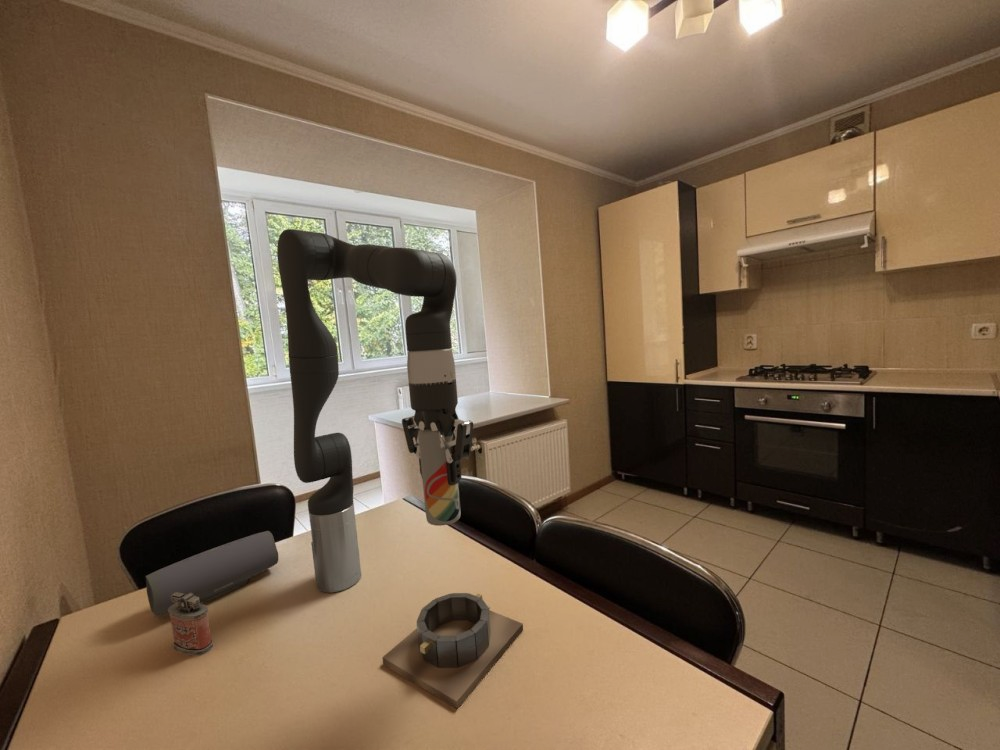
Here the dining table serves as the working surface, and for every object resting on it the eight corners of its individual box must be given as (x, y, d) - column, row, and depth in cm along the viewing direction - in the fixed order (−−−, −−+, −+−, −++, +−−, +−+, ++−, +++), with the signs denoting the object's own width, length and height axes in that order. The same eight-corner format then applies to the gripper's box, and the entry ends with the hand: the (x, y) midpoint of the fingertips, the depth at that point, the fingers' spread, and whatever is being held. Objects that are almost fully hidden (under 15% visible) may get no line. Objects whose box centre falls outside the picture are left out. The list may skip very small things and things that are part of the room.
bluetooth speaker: (266, 562, 103) (261, 524, 102) (281, 574, 97) (276, 534, 96) (149, 612, 86) (142, 566, 85) (158, 630, 80) (150, 582, 79)
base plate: (383, 664, 68) (382, 656, 67) (456, 600, 83) (456, 593, 83) (457, 709, 58) (456, 699, 58) (524, 627, 74) (524, 620, 74)
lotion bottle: (454, 526, 65) (443, 401, 63) (421, 526, 66) (409, 403, 64) (465, 511, 70) (455, 395, 68) (433, 510, 72) (423, 397, 70)
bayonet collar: (398, 655, 68) (395, 630, 67) (457, 603, 80) (455, 582, 79) (453, 686, 61) (450, 658, 60) (508, 625, 73) (506, 601, 72)
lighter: (218, 644, 75) (211, 592, 74) (199, 658, 72) (191, 604, 71) (187, 636, 78) (180, 586, 77) (168, 649, 74) (160, 597, 74)
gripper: (383, 381, 67) (393, 482, 69) (450, 382, 59) (459, 496, 60) (417, 375, 73) (425, 468, 75) (482, 375, 65) (489, 480, 67)
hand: (440, 480), depth 68 cm, fingers closed on lotion bottle, 5 cm apart
